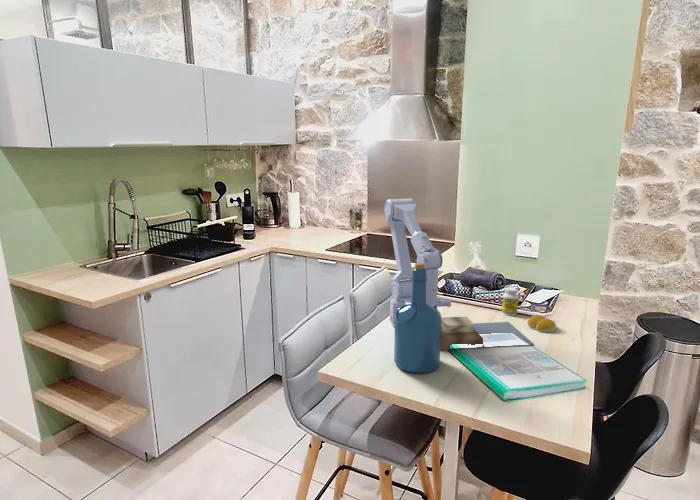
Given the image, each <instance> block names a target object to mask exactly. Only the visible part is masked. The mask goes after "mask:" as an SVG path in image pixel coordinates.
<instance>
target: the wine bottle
mask: <svg viewBox="0 0 700 500" xmlns="http://www.w3.org/2000/svg"><path fill="white" fill-rule="evenodd" d="M412 270H413V273H412V279H410V280H412V293H411V302H410V303H407V304H405V305H403V306H401V307H400V308H399V309H398V310H397V312H396V316H395V327H394V350H393V351H394V354H393V355H394V356H393V357H394V359H393V360H394V363H395V365H396V366H397V367H398V368H399V369H400V370H403V371H405V372H408V373H410V374H411V373H412V374H425V373H426V374H427V373H433V372H434V371H436V370H437V369H438V368H439V366H440V363H441V350H440V344H441V320H442V318H443V317H442V314H441V312H440V311H439V309H438V308H437V309H438V310H437V309H436V308H434V307H433V306H432V305H430V304H428V303H427V282H426V281H427V271H426V268H425V264H423V263H417V262H415V263H414V267H412Z"/></svg>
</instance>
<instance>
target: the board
mask: <svg viewBox="0 0 700 500" xmlns="http://www.w3.org/2000/svg"><path fill="white" fill-rule="evenodd" d="M452 344H468V345H469V344H471V345H475V344H483V338H482V337H481V336H480V335H479V334H478V333H477V331H476V330H475V329H474V332H462V333H446V332H445V331H444V329H443V328H442V327H441V344H440V351H447V350H449V349H450V345H452ZM449 351H450V350H449Z"/></svg>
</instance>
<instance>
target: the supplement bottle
mask: <svg viewBox="0 0 700 500" xmlns="http://www.w3.org/2000/svg"><path fill="white" fill-rule="evenodd" d="M504 291H505V293H503V295H502V306H501V307H502V309H501V310H502V311H501V313H502V314H503V315H506V316H509V317H513V316H516V315H517V314H518V307H519V295H518V294H517V288H516V287H505V290H504Z"/></svg>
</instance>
